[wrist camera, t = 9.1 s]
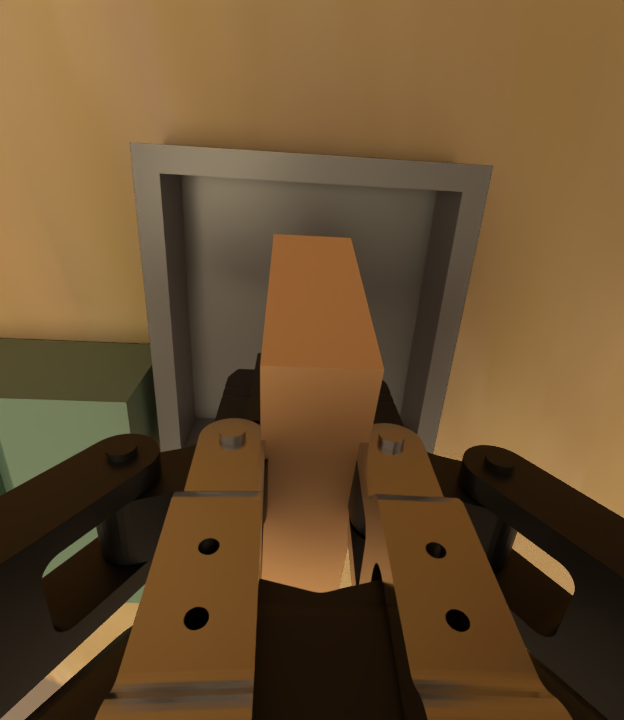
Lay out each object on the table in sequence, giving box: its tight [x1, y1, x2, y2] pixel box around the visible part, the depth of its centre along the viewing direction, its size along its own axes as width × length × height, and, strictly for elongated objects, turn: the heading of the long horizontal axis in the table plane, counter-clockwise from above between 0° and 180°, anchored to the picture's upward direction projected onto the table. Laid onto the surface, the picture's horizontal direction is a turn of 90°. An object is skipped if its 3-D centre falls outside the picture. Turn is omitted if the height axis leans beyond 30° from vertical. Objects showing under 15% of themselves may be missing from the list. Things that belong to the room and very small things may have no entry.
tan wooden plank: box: [260, 234, 384, 593], centre depth 12 cm, size 2×6×9 cm
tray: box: [130, 143, 493, 454], centre depth 18 cm, size 11×12×4 cm
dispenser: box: [0, 338, 161, 603], centre depth 19 cm, size 12×10×5 cm
